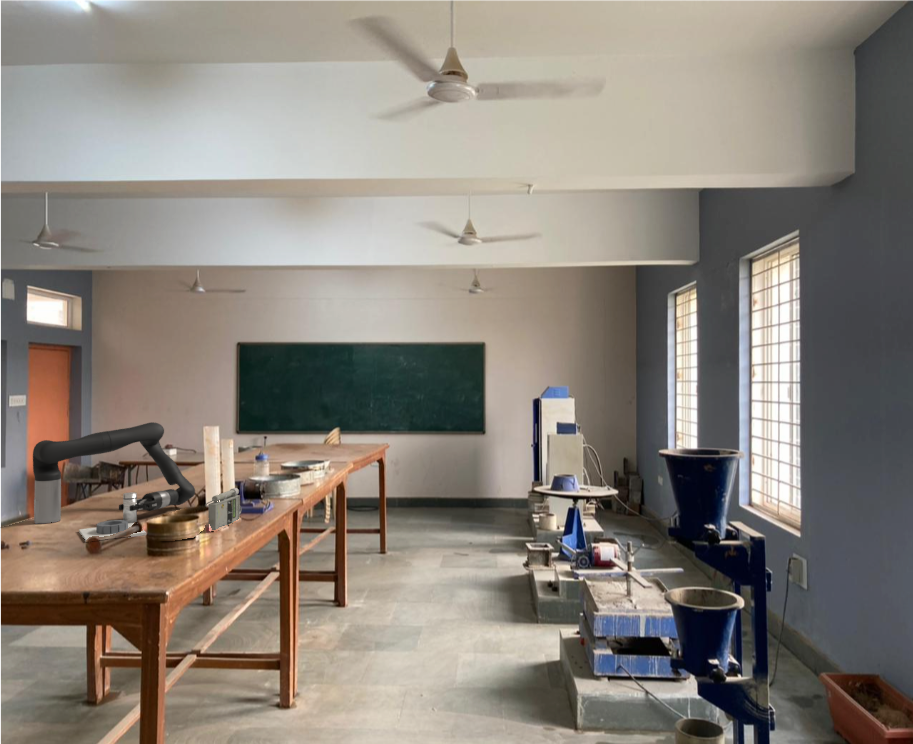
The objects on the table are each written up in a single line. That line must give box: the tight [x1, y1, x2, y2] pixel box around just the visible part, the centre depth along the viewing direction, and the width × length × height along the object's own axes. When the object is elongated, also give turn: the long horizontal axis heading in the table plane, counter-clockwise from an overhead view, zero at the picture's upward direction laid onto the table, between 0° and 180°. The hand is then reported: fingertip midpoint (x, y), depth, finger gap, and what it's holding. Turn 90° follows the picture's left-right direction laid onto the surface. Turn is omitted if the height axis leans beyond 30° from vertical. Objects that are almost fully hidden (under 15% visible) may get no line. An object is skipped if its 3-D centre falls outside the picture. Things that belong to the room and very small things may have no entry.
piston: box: [122, 491, 138, 524], centre depth 273 cm, size 5×5×12 cm
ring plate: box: [78, 519, 147, 542], centre depth 255 cm, size 20×20×4 cm
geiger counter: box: [204, 487, 242, 530], centre depth 270 cm, size 14×6×25 cm
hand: (125, 508), depth 271 cm, fingers closed on piston, 5 cm apart
